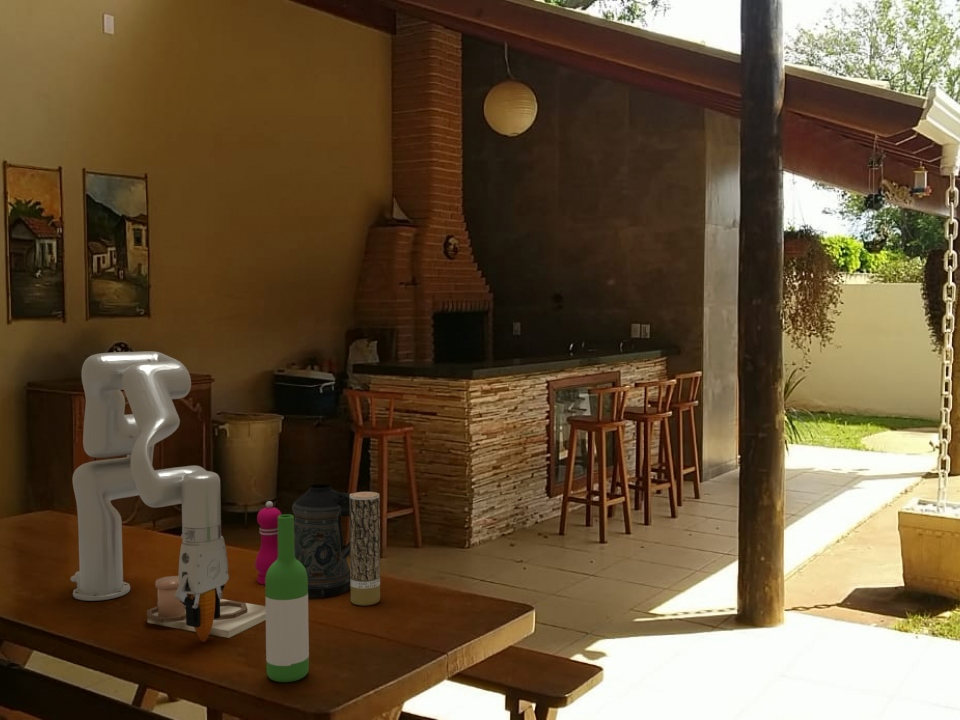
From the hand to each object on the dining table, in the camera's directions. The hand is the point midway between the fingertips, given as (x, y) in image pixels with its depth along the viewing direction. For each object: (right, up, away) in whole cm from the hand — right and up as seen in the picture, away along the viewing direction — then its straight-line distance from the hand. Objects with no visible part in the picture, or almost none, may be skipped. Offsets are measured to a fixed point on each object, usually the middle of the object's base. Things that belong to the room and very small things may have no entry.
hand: (203, 620), depth 194 cm
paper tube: (+30, -3, +26) cm, 40 cm away
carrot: (0, -5, 0) cm, 5 cm away
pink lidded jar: (-11, -2, +13) cm, 17 cm away
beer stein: (+18, -2, +37) cm, 41 cm away
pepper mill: (+4, -2, +42) cm, 43 cm away
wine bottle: (+21, -6, -17) cm, 27 cm away
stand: (-3, -4, +14) cm, 15 cm away
